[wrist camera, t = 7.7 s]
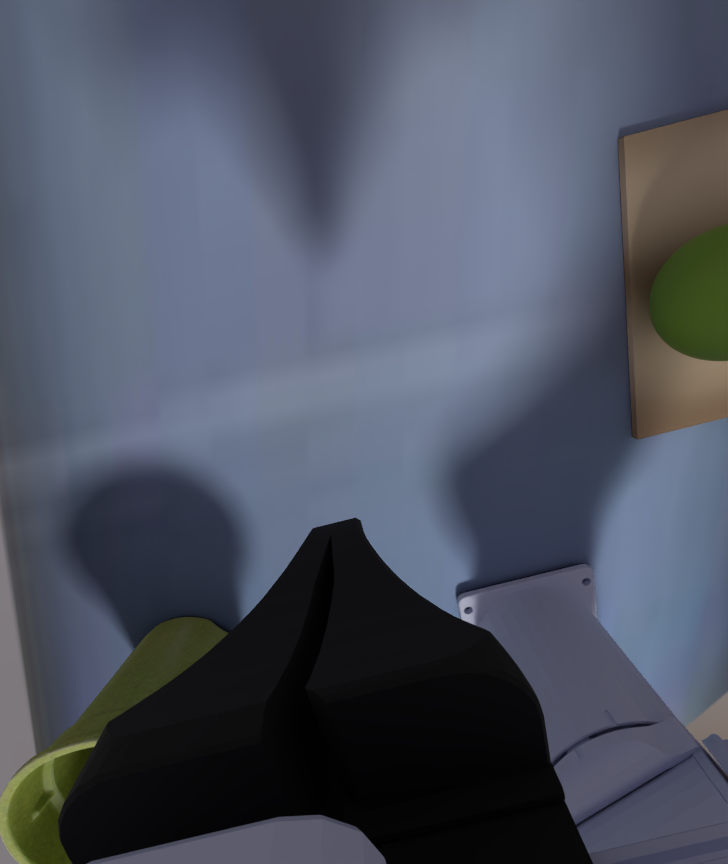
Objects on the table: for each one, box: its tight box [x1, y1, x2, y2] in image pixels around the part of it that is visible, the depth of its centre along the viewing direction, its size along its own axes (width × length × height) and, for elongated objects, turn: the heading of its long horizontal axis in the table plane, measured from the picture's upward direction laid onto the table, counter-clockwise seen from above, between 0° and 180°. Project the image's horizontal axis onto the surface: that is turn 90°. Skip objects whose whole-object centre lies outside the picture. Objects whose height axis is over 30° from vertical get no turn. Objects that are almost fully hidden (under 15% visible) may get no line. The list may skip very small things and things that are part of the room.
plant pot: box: [0, 617, 228, 864], centre depth 21 cm, size 9×9×9 cm
